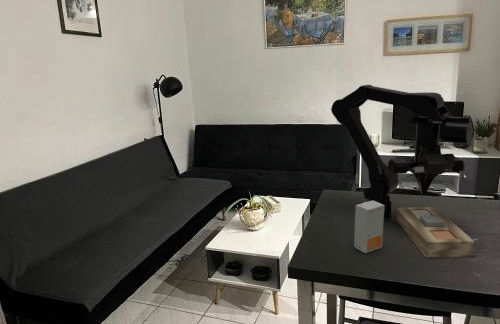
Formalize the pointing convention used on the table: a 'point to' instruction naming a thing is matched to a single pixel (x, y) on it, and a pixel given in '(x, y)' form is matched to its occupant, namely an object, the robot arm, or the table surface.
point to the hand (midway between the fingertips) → (423, 194)
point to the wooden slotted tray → (428, 241)
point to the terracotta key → (443, 235)
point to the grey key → (432, 221)
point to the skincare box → (369, 226)
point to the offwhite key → (420, 212)
